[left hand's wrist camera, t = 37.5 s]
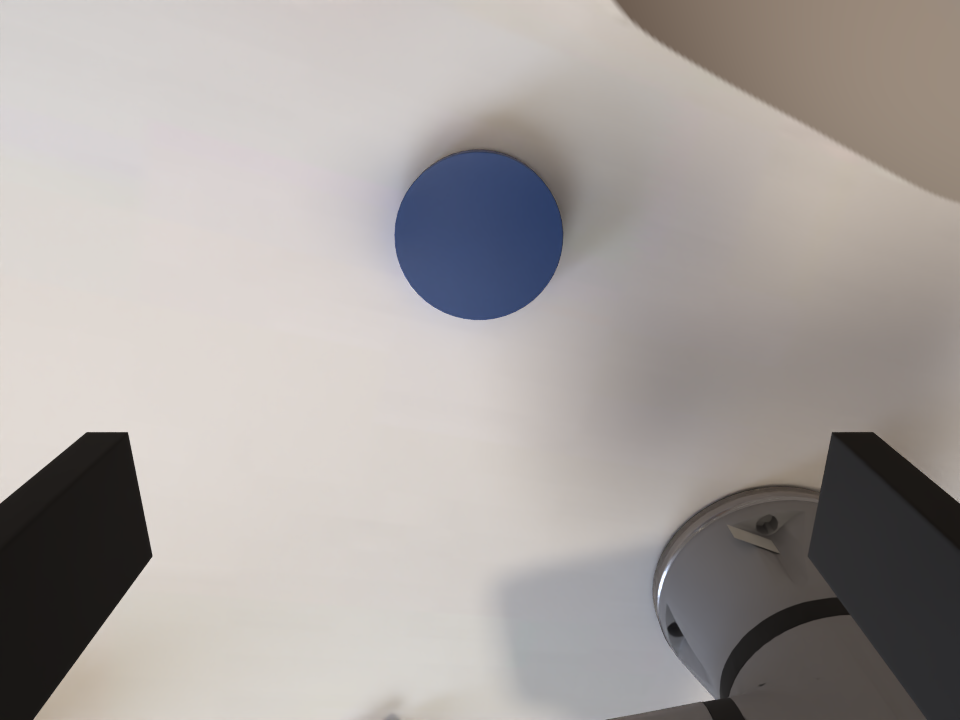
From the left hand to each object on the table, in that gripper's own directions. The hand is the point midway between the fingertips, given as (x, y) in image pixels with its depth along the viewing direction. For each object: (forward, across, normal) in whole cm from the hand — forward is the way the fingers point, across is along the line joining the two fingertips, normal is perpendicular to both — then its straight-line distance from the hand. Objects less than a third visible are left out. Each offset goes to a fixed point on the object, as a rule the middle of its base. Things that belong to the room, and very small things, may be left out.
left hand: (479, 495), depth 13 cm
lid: (+26, 0, 0) cm, 26 cm away
